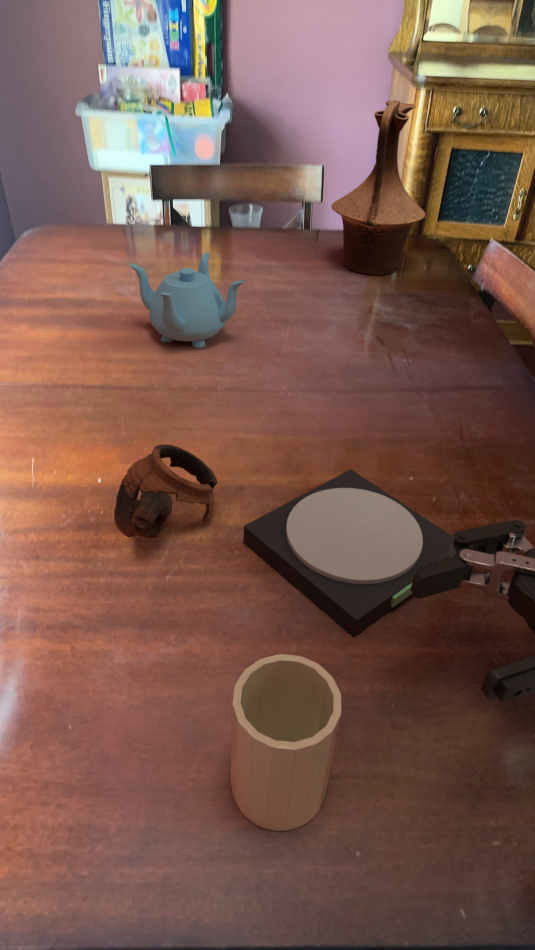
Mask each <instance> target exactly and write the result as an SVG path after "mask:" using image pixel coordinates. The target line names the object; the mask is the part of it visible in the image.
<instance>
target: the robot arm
mask: <svg viewBox="0 0 535 950" xmlns="http://www.w3.org/2000/svg"><path fill="white" fill-rule="evenodd" d="M526 530H527V525H526V523H525V522H523V521H521V520H518V519H512V520H511V519H510V520H507V521H506V520H505V521H502V522H496V523H492V524H487V525H482V526H481V525H480V526H477V527H472V528H468V529H461V530H456V531H455V532H454V533H453V535H452V536H453V539H452V542H451V546H450V549H449V553H448V556H447V559H443V560H439V561H435V562H432V563H430V564H429V563H428V564H424V565H422V566H420V567H419V568H418V570H417V572H416V573H415V575H414V577H413V581H412V585H411V591H412V593H413V594H412V595H414V597H415V598H416V599H418V600H419V599H424V598H426V597H431V596H435V595H438V594H442V593H445V592H449V591H451V590H455V589H459V588H460V587H461V586H467V587H470V588H475V589H479V590H482V591H484V593H485V595H486V596H488V597H491V598H495V599H499V600H502V601H503V600H504V601H507V604H508V605H509V606H510V607H511V608H512V610H513V611H514V612H516V613H517V614H518V615H519V616H521V617H522V618H523V620H524V621H525V623H526V625H527V627H528V629H529V630H530V631H531V632H532V633H533V635H535V546H534V545H533V543H531V542H530V541H529V540H528V539H527V538H526V536H525V532H526ZM474 568H476V569H480V570H481V569H482V570H485V571H488V572H487V573H486V572H485V573H484V572H479V571H475V570H474ZM506 572H514V574H513V575H512V577H511V580H510V583H507V582H504V581H502V578H503V576H504V574H505V573H506ZM480 690H481V692H482V693H483V694H484V696H485V697H486V699H487V700H489V701H491V700H495V699H498V700H499V702H500V703H511V702H514V701H516V700H520V699H523V698H525V697H528V696H531V695H534V694H535V654H534V655H531V656H528V657H524V658H522V659H519V660H516V661H513V662H510V663H507V664H504V665H500V666H498V667H495V668H493V669H490V671H488V672H487V673H486V674H485V677H484V679H483V682H482V684H481V687H480Z"/></svg>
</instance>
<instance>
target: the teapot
mask: <svg viewBox="0 0 535 950" xmlns="http://www.w3.org/2000/svg"><path fill="white" fill-rule="evenodd" d="M209 261H210V253H209V251H206V252H205V251H204V252H203V254H202V255H201V257H200V261H199V264H198V269H197V271H196V270H195V269H194V268H192V267H182V268H180V269H179V270H178V271H175V272H172V273H169V274H167V275H166V276H165V277H163V279H162V280H161V281H160V283H159V285H158V287H157V288H156V290H155V291H154V290H153V289H152V287H151V285H150V282H149V277H148V274H147V272H146V270H145V269H144V268H143V267H142V266H141V265H139V264H136V263H132V262H130V263H128V264H129V266H130V267H131V268H132V269H133V270H134V271H135V274H136V275H137V277H138V282H139V294H140V299H141V301H142V304H143V305H144V306H145V307H146V309H148V310H149V312H148V319H149V323H150V324H151V326H152V327H153V328H154V329H155V330H156V332H158V333H159V334H160V335H162V336H161V338H160V341H161V342H163V343H172V342H174V341H179V342H191V346H192V347H193V348H196V349H197V348H198V349H200V348H204V347H206V342H205V340H207V339H210V338H212V337H214V336H216V335H217V334H218V333H219V332H220V331H221V330H222V329H223V328H224V326H225V325H226V324H227V321H229V320H230V319H231V318H232V317H233V316H234V314H235V312H236V309H237V293H238V289H239V287H240V286H241V285H242V284H244V283H245V282H246V279H240V280H235V281H233V282H231V283H230V284H229V286H228V289H227V295H226V300H225V301H224V298H223V296H222V294H221V292H220V290H219V288H218V287H217V285H216V284H215V282H214V281H213V280H212V279H211V276H210V269H209Z"/></svg>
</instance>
